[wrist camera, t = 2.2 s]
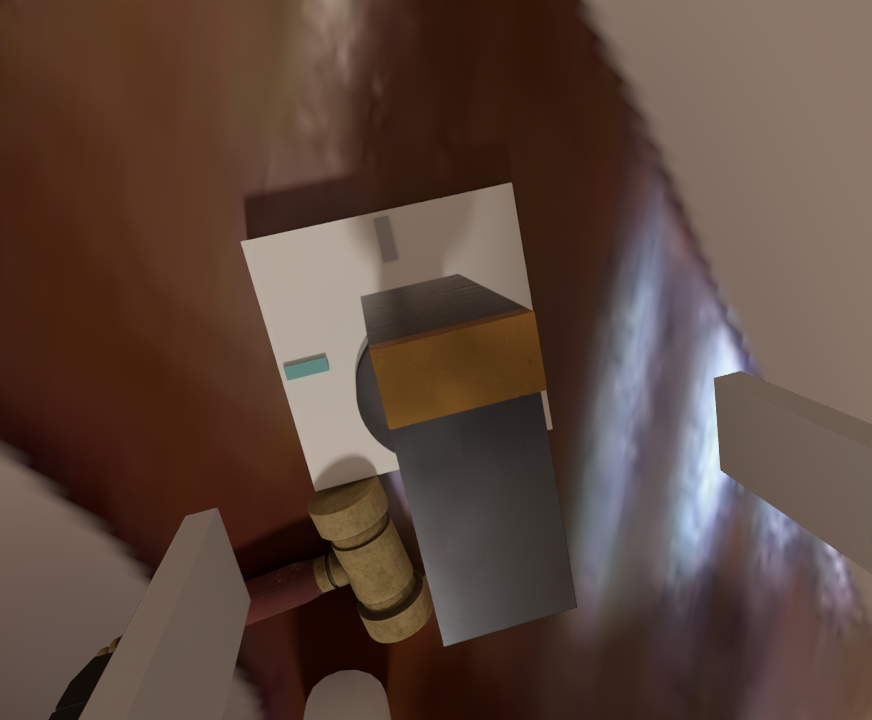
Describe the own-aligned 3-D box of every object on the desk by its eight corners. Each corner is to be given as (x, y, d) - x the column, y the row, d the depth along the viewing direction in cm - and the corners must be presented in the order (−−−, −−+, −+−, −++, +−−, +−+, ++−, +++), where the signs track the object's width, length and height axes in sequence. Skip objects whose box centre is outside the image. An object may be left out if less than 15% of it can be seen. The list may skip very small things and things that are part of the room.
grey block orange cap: (505, 440, 28) (625, 609, 16) (379, 473, 27) (405, 675, 15) (471, 261, 26) (582, 299, 14) (332, 293, 25) (318, 363, 13)
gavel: (121, 747, 35) (34, 624, 32) (150, 687, 40) (76, 573, 37) (437, 629, 35) (376, 494, 32) (431, 581, 39) (377, 459, 36)
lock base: (541, 418, 37) (592, 469, 30) (317, 476, 36) (308, 547, 28) (502, 184, 33) (548, 174, 25) (247, 240, 32) (215, 247, 24)
